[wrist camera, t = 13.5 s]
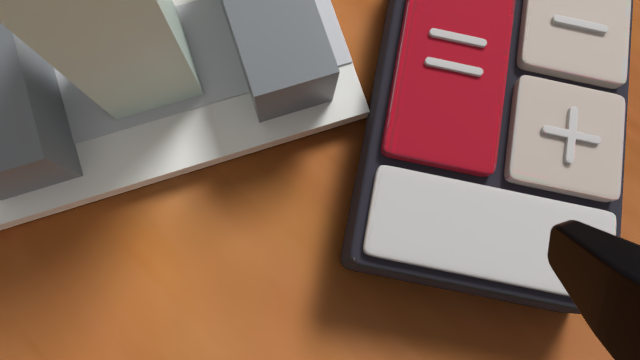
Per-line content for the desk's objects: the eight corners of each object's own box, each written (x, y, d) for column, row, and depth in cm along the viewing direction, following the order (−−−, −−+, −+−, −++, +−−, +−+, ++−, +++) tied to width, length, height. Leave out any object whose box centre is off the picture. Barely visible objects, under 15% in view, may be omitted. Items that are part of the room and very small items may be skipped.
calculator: (646, -20, 22) (631, 319, 19) (589, 29, 27) (568, 314, 23) (409, -73, 22) (350, 262, 19) (389, -15, 26) (337, 267, 23)
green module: (203, 94, 23) (136, -39, 13) (115, 119, 22) (-24, 2, 12) (179, 15, 23) (97, -170, 13) (93, 38, 23) (-57, -136, 13)
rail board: (301, -63, 25) (304, -133, 21) (366, 117, 24) (384, 84, 20) (-62, 32, 23) (-144, -22, 19) (-15, 235, 22) (-92, 227, 18)
